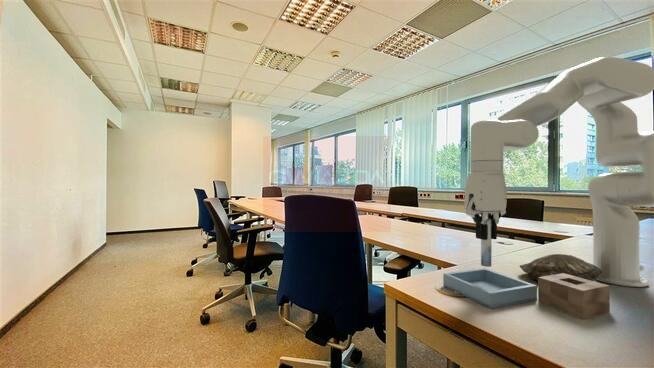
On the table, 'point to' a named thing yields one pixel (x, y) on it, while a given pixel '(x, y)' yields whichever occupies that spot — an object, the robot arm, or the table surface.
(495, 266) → the table surface
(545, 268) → the crinkled plastic bag
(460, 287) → the tray
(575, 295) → the pin holder
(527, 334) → the table surface
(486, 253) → the steel pin
